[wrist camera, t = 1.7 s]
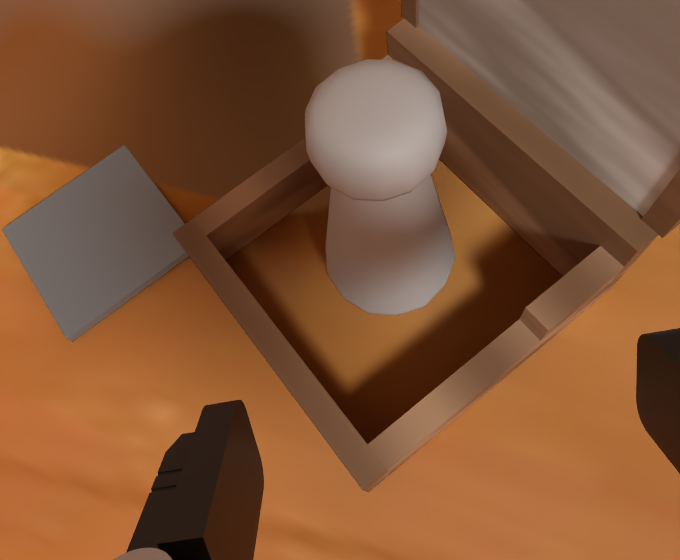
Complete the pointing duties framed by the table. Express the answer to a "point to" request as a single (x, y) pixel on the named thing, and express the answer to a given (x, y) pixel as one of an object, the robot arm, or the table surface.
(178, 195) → the table surface
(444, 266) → the salt shaker
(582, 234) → the frame
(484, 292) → the table surface
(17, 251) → the plate
